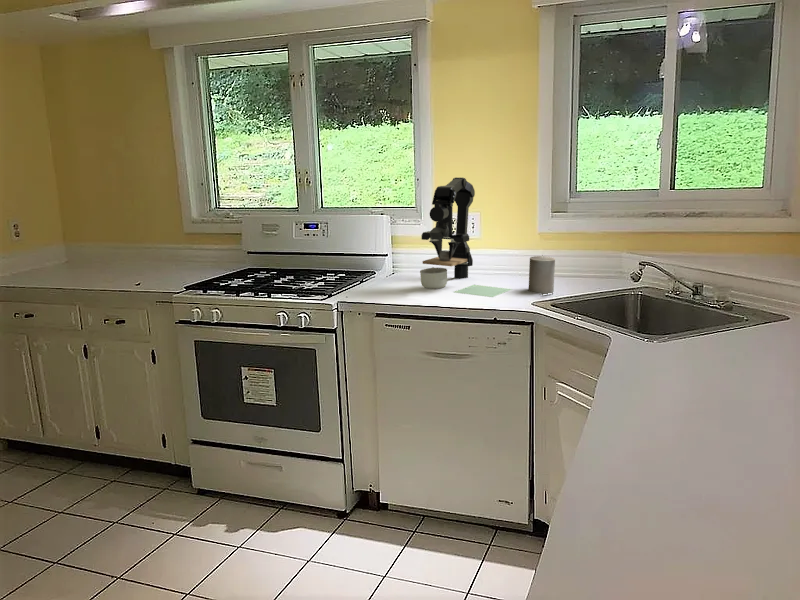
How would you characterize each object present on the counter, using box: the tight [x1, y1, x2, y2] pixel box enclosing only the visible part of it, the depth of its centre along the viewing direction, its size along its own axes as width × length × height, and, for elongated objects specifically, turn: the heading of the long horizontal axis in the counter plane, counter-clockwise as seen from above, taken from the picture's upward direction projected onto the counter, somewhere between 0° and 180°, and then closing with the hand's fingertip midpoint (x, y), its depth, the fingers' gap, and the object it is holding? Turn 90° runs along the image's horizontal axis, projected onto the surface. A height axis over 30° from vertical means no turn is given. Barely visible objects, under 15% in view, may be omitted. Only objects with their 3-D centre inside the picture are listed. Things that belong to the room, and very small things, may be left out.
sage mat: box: [454, 284, 513, 298], centre depth 268 cm, size 17×17×1 cm
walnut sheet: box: [422, 249, 468, 267], centre depth 272 cm, size 13×13×4 cm
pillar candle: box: [527, 254, 556, 294], centre depth 265 cm, size 10×10×15 cm
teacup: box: [419, 266, 448, 290], centre depth 277 cm, size 14×11×8 cm
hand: (445, 258), depth 273 cm, fingers closed on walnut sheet, 4 cm apart
